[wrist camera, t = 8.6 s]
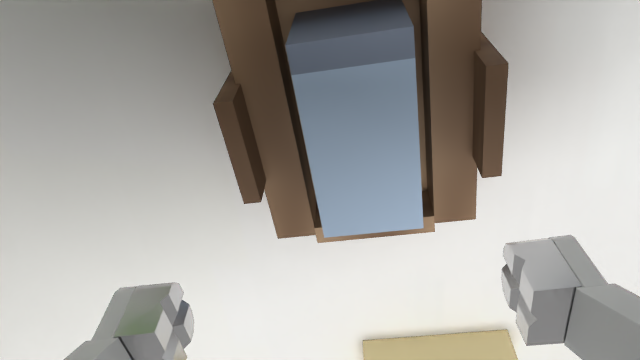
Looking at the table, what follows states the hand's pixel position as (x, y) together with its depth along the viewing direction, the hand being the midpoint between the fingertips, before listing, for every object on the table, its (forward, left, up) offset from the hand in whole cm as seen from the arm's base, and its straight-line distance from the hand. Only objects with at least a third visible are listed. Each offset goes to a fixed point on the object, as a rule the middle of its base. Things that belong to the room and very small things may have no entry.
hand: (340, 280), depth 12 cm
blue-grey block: (+1, 0, -10) cm, 10 cm away
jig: (+1, 0, -11) cm, 11 cm away
